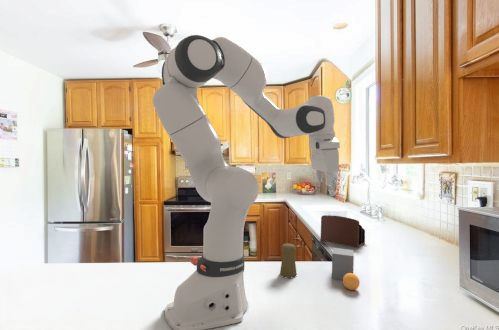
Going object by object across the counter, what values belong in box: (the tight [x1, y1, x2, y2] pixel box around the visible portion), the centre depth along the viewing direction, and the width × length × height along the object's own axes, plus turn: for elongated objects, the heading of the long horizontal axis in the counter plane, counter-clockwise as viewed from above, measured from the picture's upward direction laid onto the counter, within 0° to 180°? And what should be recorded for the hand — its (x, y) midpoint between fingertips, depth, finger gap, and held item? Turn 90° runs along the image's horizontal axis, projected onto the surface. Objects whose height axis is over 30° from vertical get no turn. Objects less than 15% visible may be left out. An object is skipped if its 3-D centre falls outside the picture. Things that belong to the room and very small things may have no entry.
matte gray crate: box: [331, 247, 355, 281], centre depth 97 cm, size 7×7×9 cm
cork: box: [279, 243, 298, 279], centre depth 98 cm, size 6×6×11 cm
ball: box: [342, 272, 360, 291], centre depth 87 cm, size 5×5×5 cm
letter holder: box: [320, 214, 366, 249], centre depth 140 cm, size 10×20×14 cm, turn 50°
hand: (324, 183), depth 95 cm, fingers open, 8 cm apart
